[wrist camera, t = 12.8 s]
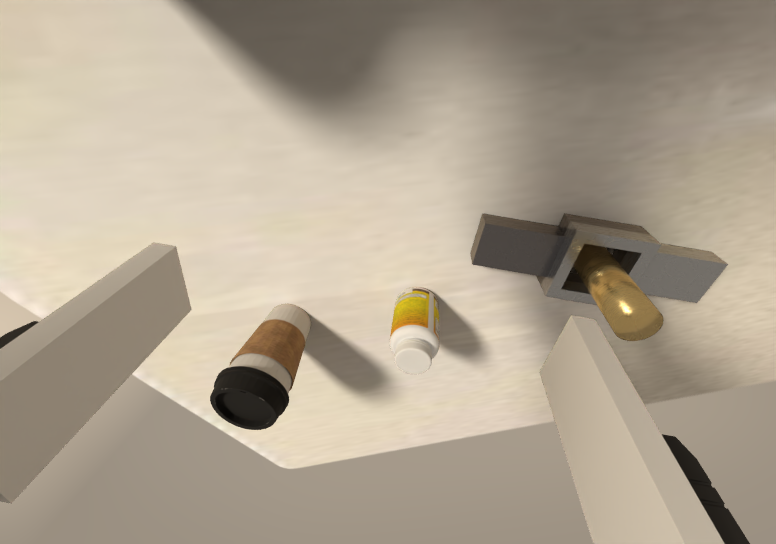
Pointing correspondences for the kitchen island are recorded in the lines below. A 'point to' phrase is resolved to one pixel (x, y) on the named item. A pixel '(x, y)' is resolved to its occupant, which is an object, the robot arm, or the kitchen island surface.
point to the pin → (617, 294)
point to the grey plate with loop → (564, 242)
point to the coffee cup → (263, 371)
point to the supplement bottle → (415, 330)
